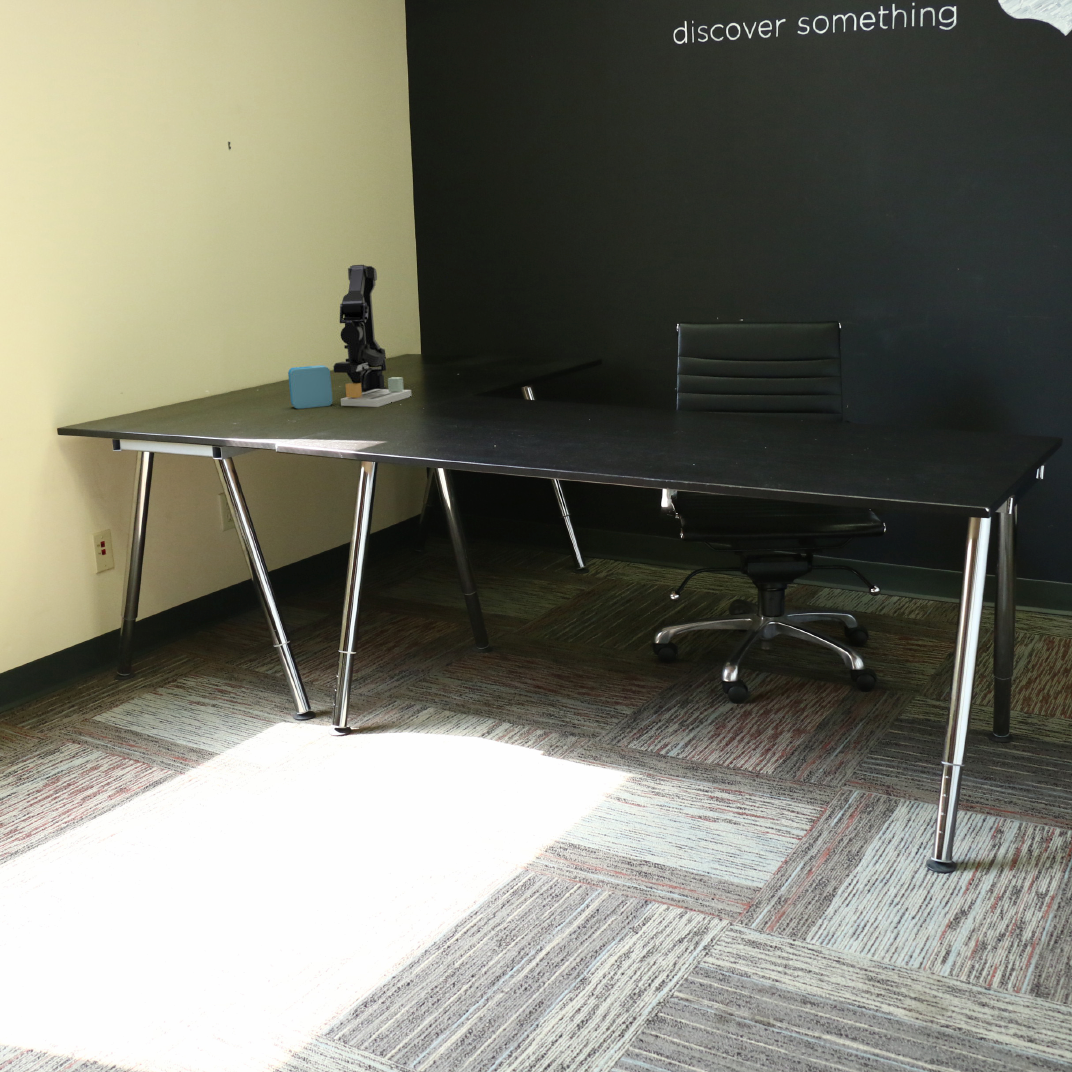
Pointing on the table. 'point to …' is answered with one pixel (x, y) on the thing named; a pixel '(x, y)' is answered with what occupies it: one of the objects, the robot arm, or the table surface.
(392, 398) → the mixer console
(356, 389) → the amber fader
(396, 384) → the sage fader
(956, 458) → the table surface
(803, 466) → the table surface
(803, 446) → the table surface
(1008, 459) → the table surface
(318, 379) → the blue rounded block
